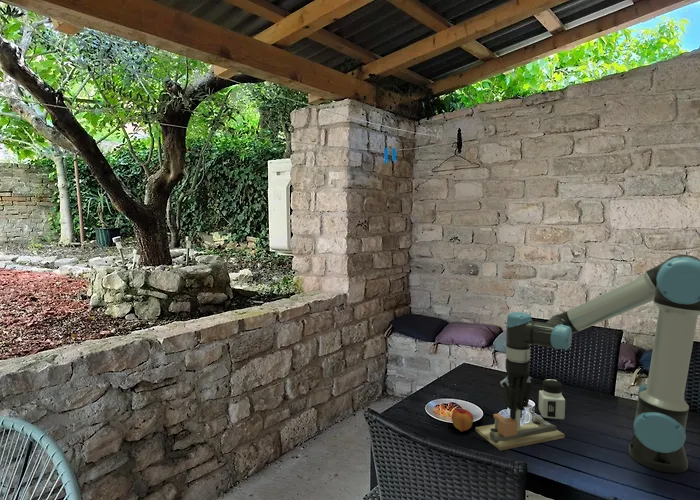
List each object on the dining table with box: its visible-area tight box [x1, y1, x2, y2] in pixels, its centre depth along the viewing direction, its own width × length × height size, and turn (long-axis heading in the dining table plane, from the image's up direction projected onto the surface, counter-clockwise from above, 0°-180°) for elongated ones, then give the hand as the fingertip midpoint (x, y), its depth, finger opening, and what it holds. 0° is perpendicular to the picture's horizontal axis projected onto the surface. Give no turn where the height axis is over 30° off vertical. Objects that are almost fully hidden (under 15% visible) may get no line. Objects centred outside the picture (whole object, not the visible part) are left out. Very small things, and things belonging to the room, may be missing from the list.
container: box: [538, 378, 566, 420], centre depth 170 cm, size 8×8×13 cm
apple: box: [451, 406, 474, 432], centre depth 158 cm, size 7×7×8 cm
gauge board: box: [474, 416, 566, 451], centre depth 155 cm, size 14×26×4 cm, turn 108°
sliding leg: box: [492, 413, 518, 437], centre depth 152 cm, size 8×5×6 cm, turn 18°
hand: (515, 427), depth 151 cm, fingers closed
